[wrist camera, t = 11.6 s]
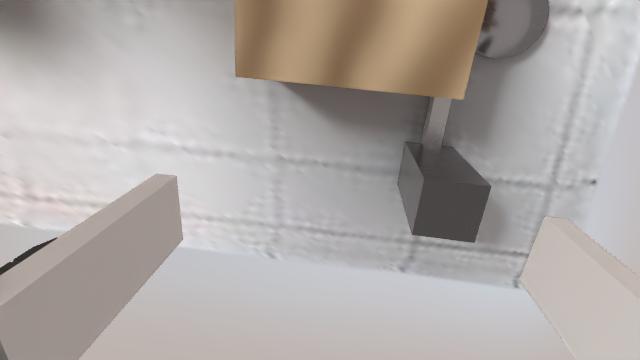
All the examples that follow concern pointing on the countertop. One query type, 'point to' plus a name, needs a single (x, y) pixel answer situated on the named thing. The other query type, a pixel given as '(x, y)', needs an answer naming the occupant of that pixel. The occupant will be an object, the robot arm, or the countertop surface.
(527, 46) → the disc
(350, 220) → the countertop surface
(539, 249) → the robot arm
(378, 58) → the shelf
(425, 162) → the tool
